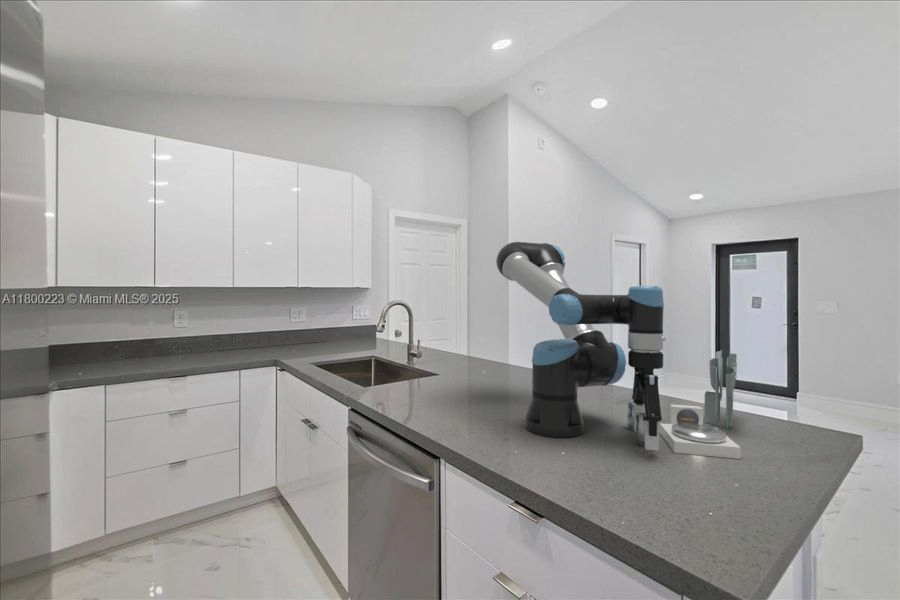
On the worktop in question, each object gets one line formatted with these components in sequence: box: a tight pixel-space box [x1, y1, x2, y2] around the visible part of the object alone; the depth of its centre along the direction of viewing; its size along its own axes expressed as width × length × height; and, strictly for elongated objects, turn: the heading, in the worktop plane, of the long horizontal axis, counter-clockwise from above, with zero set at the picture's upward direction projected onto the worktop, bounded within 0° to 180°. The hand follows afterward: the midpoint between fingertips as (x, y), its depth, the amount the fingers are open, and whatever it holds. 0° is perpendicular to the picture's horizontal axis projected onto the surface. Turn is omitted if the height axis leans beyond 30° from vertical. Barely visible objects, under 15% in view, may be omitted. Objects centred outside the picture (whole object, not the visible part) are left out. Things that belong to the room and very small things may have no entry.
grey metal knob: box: [634, 413, 653, 448], centre depth 97 cm, size 4×4×7 cm
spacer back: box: [626, 400, 644, 432], centre depth 108 cm, size 4×4×7 cm
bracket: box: [703, 349, 738, 429], centre depth 114 cm, size 28×7×20 cm, turn 143°
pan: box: [672, 423, 727, 443], centre depth 96 cm, size 11×11×1 cm
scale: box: [659, 403, 742, 460], centre depth 98 cm, size 13×16×7 cm
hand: (645, 439), depth 97 cm, fingers open, 13 cm apart
